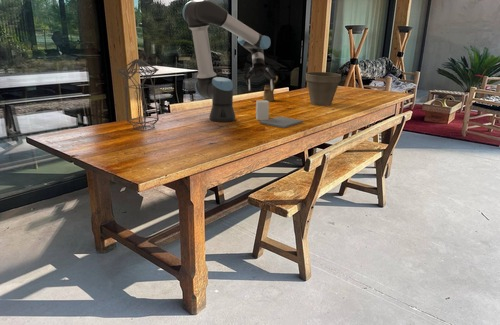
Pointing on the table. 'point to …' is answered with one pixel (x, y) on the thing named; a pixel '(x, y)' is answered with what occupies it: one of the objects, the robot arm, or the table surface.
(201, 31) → the robot arm
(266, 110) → the grey cover
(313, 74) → the plant pot
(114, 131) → the table surface
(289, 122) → the slate board
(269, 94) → the utensil holder
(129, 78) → the geometric lantern
